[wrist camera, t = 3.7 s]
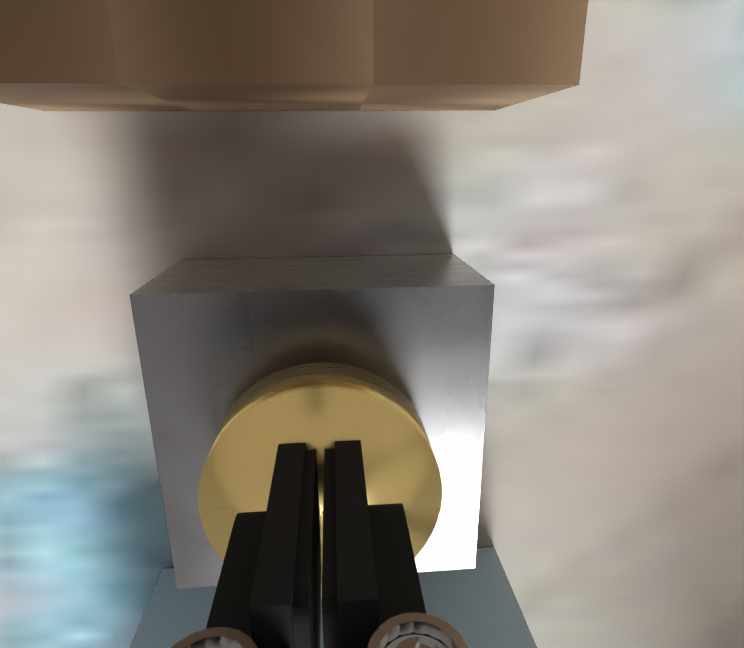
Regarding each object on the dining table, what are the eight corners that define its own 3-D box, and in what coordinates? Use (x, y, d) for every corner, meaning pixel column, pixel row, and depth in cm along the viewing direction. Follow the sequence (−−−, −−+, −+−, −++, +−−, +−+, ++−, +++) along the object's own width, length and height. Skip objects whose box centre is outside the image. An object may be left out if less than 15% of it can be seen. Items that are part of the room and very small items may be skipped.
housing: (453, 253, 15) (494, 285, 11) (443, 480, 18) (475, 567, 14) (181, 259, 15) (129, 295, 11) (210, 493, 17) (177, 588, 13)
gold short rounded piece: (415, 326, 13) (447, 386, 10) (412, 486, 15) (438, 589, 11) (223, 332, 13) (183, 398, 9) (240, 495, 15) (211, 605, 11)
